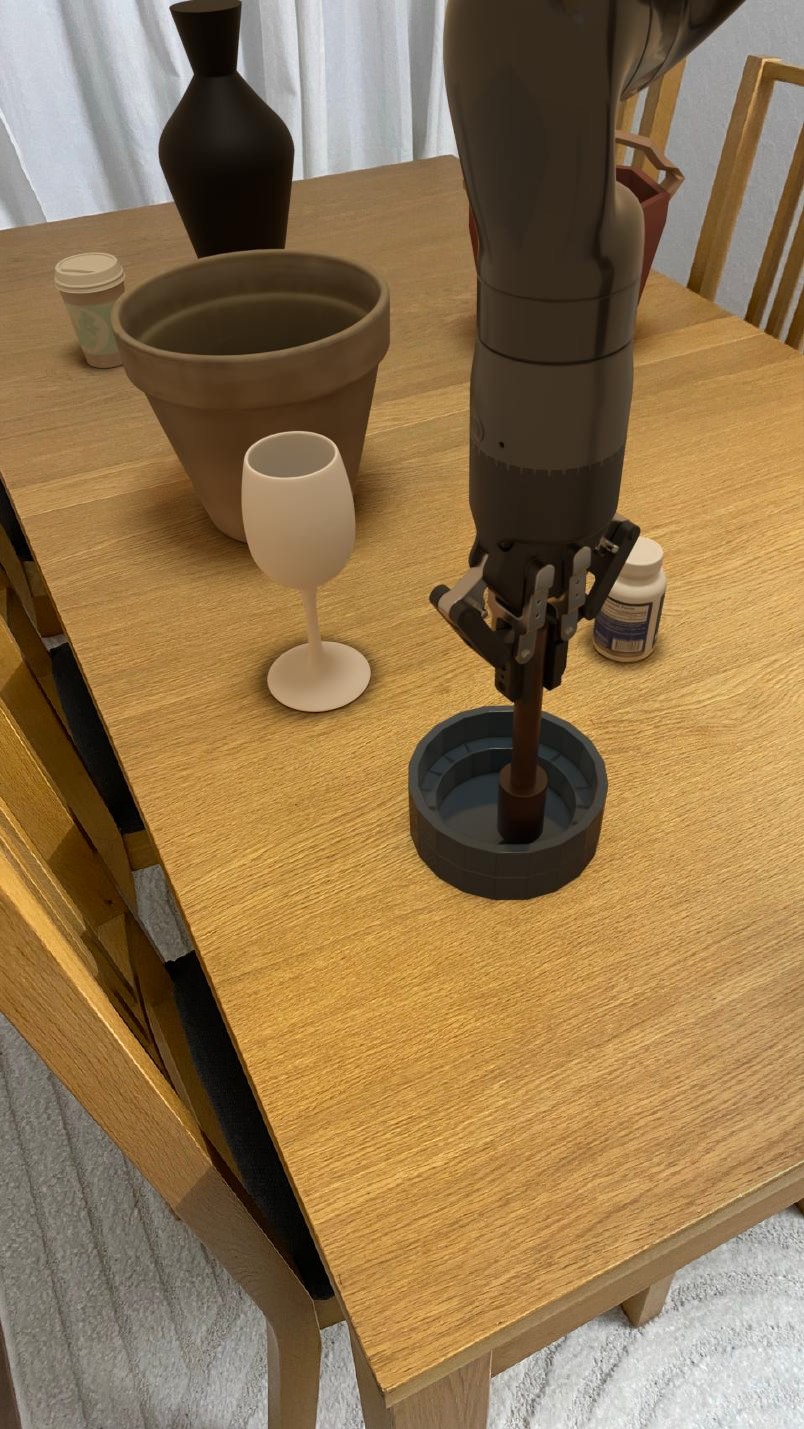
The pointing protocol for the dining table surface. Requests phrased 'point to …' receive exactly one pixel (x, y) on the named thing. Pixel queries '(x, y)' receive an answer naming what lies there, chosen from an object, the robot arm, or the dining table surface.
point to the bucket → (644, 188)
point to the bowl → (464, 797)
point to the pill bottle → (633, 606)
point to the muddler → (525, 764)
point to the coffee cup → (92, 302)
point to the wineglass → (304, 557)
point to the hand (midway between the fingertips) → (530, 688)
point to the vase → (224, 142)
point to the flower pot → (254, 359)
